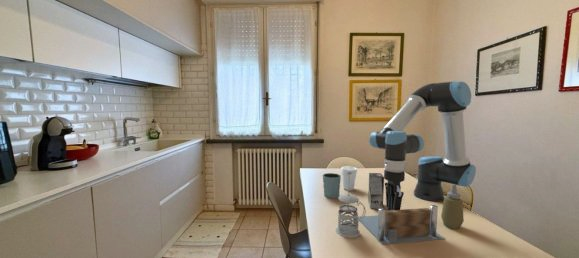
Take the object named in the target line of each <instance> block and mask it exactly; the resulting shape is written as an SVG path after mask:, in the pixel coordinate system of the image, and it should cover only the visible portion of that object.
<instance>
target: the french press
mask: <svg viewBox="0 0 579 258" xmlns="http://www.w3.org/2000/svg"><path fill="white" fill-rule="evenodd" d="M347 174H352V173H351V171H347ZM337 199H338V200H339V201H340V202H341V203H345V204H341V205H340V206H339V209H338V212H337V213H338V215H337V217H338V218H337V219H338V221H337V222H338V223H337V228H335V232H336V234H338V235H339V236H341V237H343V238H350V239H351V238H356V237H357V238H358V237H359V236H360V235H361V231H360V230H359V222H360V220H362V219H363V218H364V217H363V218H362V219H360V220H358V219H359V218H358V217H360V216H359V213H358V208H357V206H358V207H359V205H362V207H363V210H364V211H363V213H362V214H361V217H362V216H366V213H367V212H366V211H367V210H366V207H365V205H364V204H363V203H362V202H361V201H360V200H359V198H358V196H356V195H354V194H351V193H350V192H348V193H345V194H340V195H339V197H338V198H337ZM350 204H356V205H357V206H354V205H350ZM361 217H360V218H361Z"/></svg>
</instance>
